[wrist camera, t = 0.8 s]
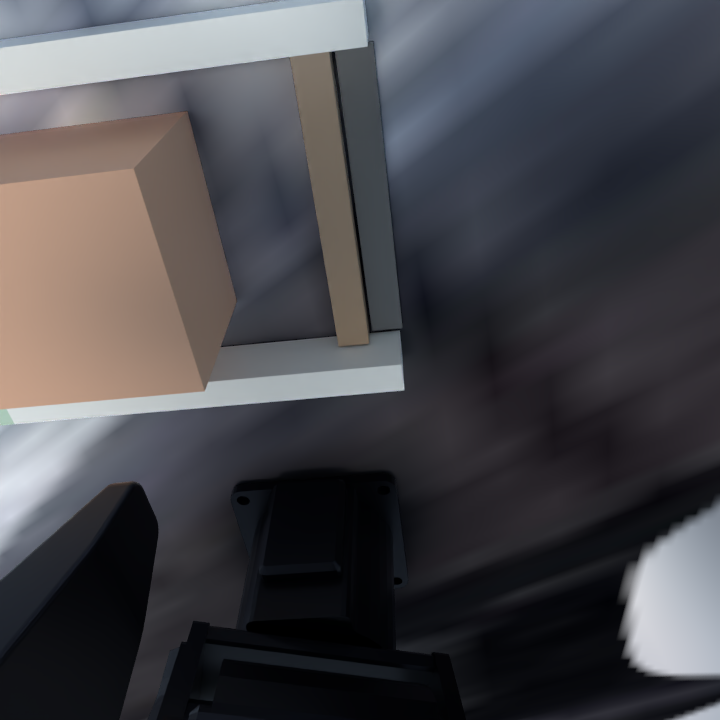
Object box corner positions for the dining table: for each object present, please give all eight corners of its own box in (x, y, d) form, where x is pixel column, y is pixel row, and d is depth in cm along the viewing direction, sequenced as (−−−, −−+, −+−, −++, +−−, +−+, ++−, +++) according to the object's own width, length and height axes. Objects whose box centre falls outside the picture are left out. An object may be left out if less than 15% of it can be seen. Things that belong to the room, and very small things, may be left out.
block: (237, 299, 22) (204, 391, 17) (62, 317, 22) (-10, 410, 18) (188, 109, 18) (133, 168, 14) (-17, 135, 19) (-128, 199, 15)
